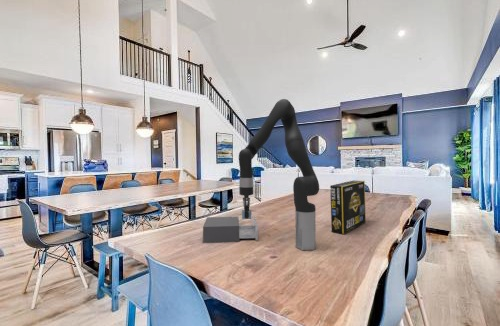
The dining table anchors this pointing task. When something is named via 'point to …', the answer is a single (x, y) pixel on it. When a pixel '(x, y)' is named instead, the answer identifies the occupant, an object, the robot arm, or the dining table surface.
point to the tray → (249, 230)
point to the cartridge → (244, 214)
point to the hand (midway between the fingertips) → (246, 217)
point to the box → (347, 206)
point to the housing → (221, 229)
